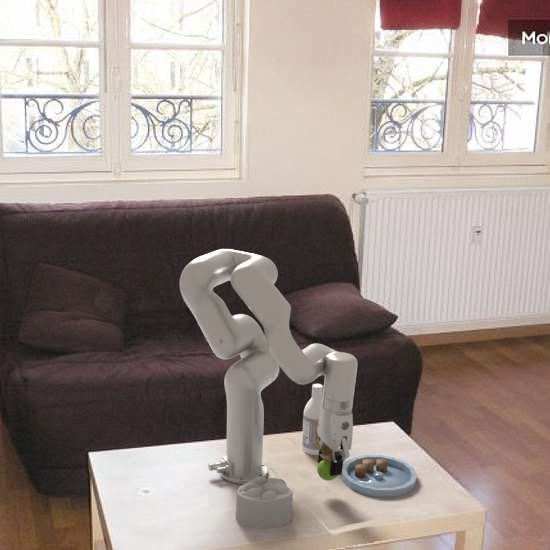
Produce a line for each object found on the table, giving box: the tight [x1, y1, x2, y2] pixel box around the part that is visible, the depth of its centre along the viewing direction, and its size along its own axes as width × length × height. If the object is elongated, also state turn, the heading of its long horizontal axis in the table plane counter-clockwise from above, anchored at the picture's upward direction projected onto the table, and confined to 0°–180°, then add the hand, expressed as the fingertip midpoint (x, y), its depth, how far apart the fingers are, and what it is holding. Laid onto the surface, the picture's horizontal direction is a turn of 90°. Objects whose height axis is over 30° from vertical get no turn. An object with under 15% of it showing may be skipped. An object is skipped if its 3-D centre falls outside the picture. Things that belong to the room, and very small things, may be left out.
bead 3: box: [376, 459, 388, 473], centre depth 234 cm, size 3×3×2 cm
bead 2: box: [363, 459, 374, 473], centre depth 234 cm, size 3×3×2 cm
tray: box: [341, 454, 418, 498], centre depth 230 cm, size 19×19×3 cm
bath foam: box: [301, 383, 324, 456], centre depth 243 cm, size 7×7×20 cm
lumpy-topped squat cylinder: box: [235, 476, 294, 529], centre depth 211 cm, size 10×13×9 cm
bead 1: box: [355, 464, 367, 478], centre depth 231 cm, size 3×3×2 cm
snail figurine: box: [316, 443, 341, 481], centre depth 219 cm, size 5×6×12 cm
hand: (329, 468), depth 220 cm, fingers closed on snail figurine, 5 cm apart
